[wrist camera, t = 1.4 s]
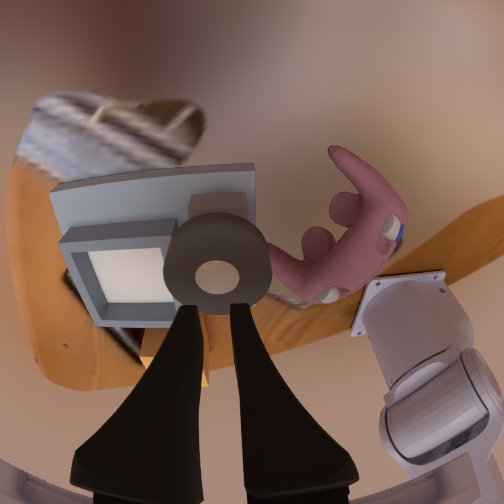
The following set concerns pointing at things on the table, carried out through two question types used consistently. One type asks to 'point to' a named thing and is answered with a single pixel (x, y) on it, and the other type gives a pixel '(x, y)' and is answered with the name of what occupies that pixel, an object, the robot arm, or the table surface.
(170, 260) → the wheel
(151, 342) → the orange cube
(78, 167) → the table surface
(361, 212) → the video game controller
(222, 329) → the table surface
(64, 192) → the chassis
